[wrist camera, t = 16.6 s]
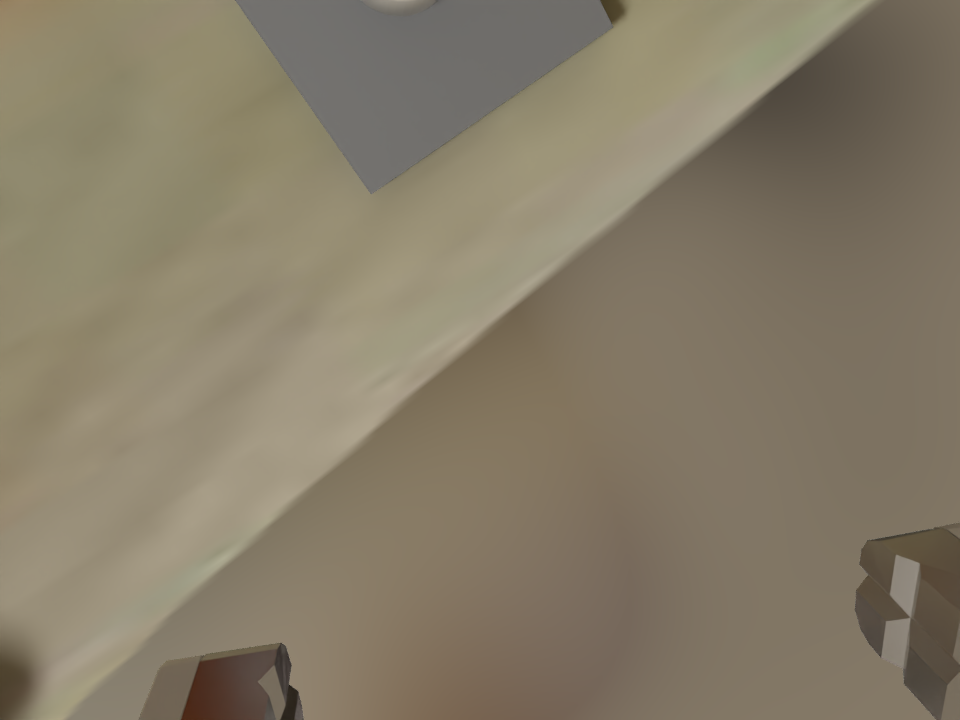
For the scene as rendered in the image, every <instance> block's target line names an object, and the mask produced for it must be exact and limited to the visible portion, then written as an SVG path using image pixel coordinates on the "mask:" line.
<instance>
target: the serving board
mask: <svg viewBox="0 0 960 720" xmlns="http://www.w3.org/2000/svg"><path fill="white" fill-rule="evenodd" d="M235 1H236V2H237V4H238V5H239V6H240V8H241V9H242V11H243V12H244V14H245V15H246V16H247V18H248V19H249V21H250V22H251V24H252V25H253V26H254V28H255V29H256V31H257V32H258V34H259V35H260V36H261V38H262V39H263V41H264V42H265V44H266V45H267V46H268V48H269V49H270V51H271V52H272V54H273V55H274V56H275V58H276V59H277V61H278V62H279V64H280V65H281V66H282V68H283V69H284V71H285V72H286V74H287V75H288V76H289V78H290V79H291V81H292V82H293V84H294V85H295V86H296V88H297V89H298V91H299V92H300V94H301V95H302V96H303V98H304V99H305V101H306V102H307V103H308V105H309V106H310V108H311V109H312V111H313V112H314V113H315V115H316V116H317V118H318V119H319V121H320V122H321V123H322V125H323V126H324V128H325V129H326V131H327V132H328V133H329V135H330V136H331V138H332V139H333V141H334V142H335V143H336V145H337V146H338V148H339V149H340V151H341V152H342V153H343V155H344V156H345V158H346V159H347V161H348V162H349V163H350V165H351V166H352V168H353V169H354V171H355V172H356V173H357V175H358V176H359V178H360V179H361V181H362V182H363V183H364V185H365V186H366V188H367V189H368V191H369V192H370V193H371V194H372V193H374V192H375V191H377V190H378V189H380V188H381V187H383V186H384V185H386V184H387V183H388V182H390V181H391V180H393V179H394V178H396V177H397V176H399V175H400V174H401V173H403V172H404V171H406V170H407V169H409V168H410V167H412V166H413V165H414V164H416V163H417V162H419V161H420V160H422V159H423V158H425V157H426V156H427V155H429V154H430V153H432V152H433V151H435V150H436V149H438V148H439V147H440V146H442V145H443V144H445V143H446V142H448V141H449V140H451V139H452V138H454V137H455V136H456V135H458V134H459V133H461V132H462V131H464V130H465V129H467V128H468V127H469V126H471V125H472V124H474V123H475V122H477V121H478V120H480V119H481V118H482V117H484V116H485V115H487V114H488V113H490V112H491V111H493V110H494V109H495V108H497V107H498V106H500V105H501V104H503V103H504V102H506V101H507V100H508V99H510V98H511V97H513V96H514V95H516V94H517V93H519V92H520V91H522V90H523V89H524V88H526V87H527V86H529V85H530V84H532V83H533V82H535V81H536V80H537V79H539V78H540V77H542V76H543V75H545V74H546V73H548V72H549V71H550V70H552V69H553V68H555V67H556V66H558V65H559V64H561V63H562V62H563V61H565V60H566V59H568V58H569V57H571V56H572V55H574V54H575V53H576V52H578V51H579V50H581V49H582V48H584V47H585V46H587V45H588V44H590V43H591V42H592V41H594V40H595V39H597V38H598V37H600V36H601V35H603V34H604V33H605V32H607V31H608V30H610V29H611V28H613V25H612V23H611V21H610V19H609V17H608V15H607V13H606V11H605V9H604V7H603V5H602V3H601V1H600V0H437V1H436V2H435V3H434V4H433V5H432V6H430V7H429V8H427V9H426V10H424V11H422V12H420V13H417V14H414V15H410V16H402V17H401V16H390V15H386V14H383V13H380V12H377V11H375V10H373V9H372V8H370V7H369V6H367V5H366V4H364V3H363V2H362V1H361V0H235Z"/></svg>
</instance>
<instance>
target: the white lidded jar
mask: <svg viewBox="0 0 960 720" xmlns="http://www.w3.org/2000/svg"><path fill="white" fill-rule="evenodd" d="M361 1H362V2H363V3H364V4H366V5H367V6H369V7H370V8H372V9H373V10H375V11H377V12H380V13H383V14H386V15H390V16H401V17H402V16H410V15H414V14H417V13H420V12H422V11H424V10H426V9H427V8H429V7H430V6H432V5H433V4H434V3H435V2H436V1H437V0H361Z"/></svg>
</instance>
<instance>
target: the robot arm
mask: <svg viewBox="0 0 960 720" xmlns="http://www.w3.org/2000/svg"><path fill="white" fill-rule="evenodd" d="M860 566H861V567H862V568H863V570H864V571H865V572H866V573H867V574H868V576H867V577H866V578H865V580H864V581H863V582H862V583H861V585H860V586H859V587H858V589H857V590H856V602H855V612H856V615H857V619H858V622H859V625H860V629H861V631H862V633H863V634H864V636H865V638H866V640H867V641H868V643H869V645H870V646H871V647H872V648H873V649H874V650H875V652H876V653H877V654H878V655H879V656H880V657H881V658H882V659H884V660H886V661H888V662H890V663H892V664H894V665H896V666H899V667H901V668H902V669H903V676H904V677H903V678H904V684H905V686H906V687H907V688H908V689H909V690H910V691H911V692H912V693H913V694H914V696H915V697H916V698H917V699H918V700H919V701H920V702H921V703H922V704H923V705H924V707H925V708H926V709H927V710H928V711H929V712H930V713H931V714H932V716H933V717H934V718H935V719H936V720H960V523H955V524H950V525H945V526H940V527H935V528H933V529H927V530H922V531H916V532H911V533H905V534H900V535H894V536H889V537H883V538H878V539H872V540H867V542H866V543H865V545H864V547H863V548H862V549H861V556H860ZM291 666H292V665H291V662H290V658H289V655H288V652H287V648H286V646H285V645H284V644H282V643H277V644H269V645H263V646H256V647H249V648H243V649H236V650H230V651H223V652H216V653H210V654H206V655H205V656H204V655H203V656H195V657H188V658H182V659H175V660H168V661H166V662H165V663H164V664H163V665H162V666H161V667H160V668H159V670H158V671H157V674H156V676H155V679H154V681H153V684H152V686H151V689H150V691H149V694H148V697H147V699H146V702H145V704H144V707H143V709H142V712H141V714H140V717H139V720H304V718H303V711H302V705H301V700H300V696H299V692H298V691H297V690H296V689H295V688H293V687H292V686H290V685H289V679H290V672H291Z"/></svg>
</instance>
